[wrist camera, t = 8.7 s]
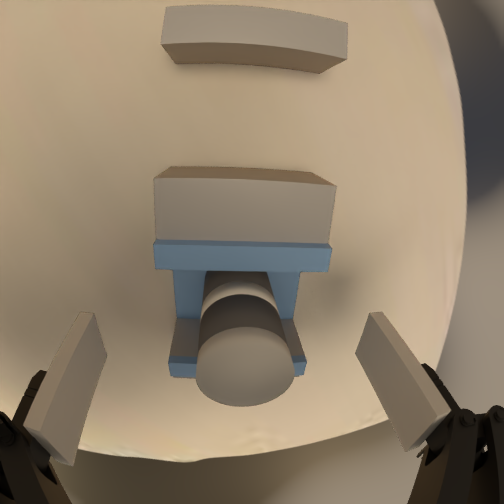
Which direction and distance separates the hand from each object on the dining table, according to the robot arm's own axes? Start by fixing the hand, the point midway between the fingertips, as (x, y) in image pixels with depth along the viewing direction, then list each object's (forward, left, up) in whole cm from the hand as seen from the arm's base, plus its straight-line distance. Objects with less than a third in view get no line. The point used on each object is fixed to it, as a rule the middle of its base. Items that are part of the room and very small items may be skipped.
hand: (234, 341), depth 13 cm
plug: (0, 0, -6) cm, 6 cm away
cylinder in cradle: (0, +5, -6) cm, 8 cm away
